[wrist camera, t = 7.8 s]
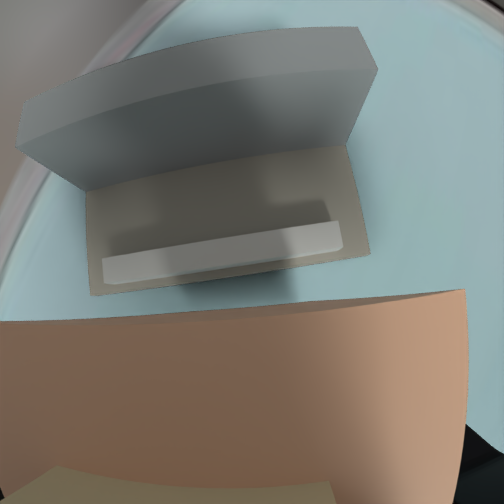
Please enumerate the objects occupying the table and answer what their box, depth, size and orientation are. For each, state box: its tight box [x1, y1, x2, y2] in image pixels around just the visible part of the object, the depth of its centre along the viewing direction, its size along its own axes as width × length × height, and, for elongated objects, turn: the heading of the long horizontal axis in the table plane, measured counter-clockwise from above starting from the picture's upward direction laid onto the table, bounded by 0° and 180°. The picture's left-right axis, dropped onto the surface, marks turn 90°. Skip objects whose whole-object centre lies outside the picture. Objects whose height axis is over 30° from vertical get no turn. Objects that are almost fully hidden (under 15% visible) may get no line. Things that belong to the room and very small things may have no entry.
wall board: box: [15, 27, 378, 296], centre depth 16 cm, size 11×18×9 cm, turn 99°
